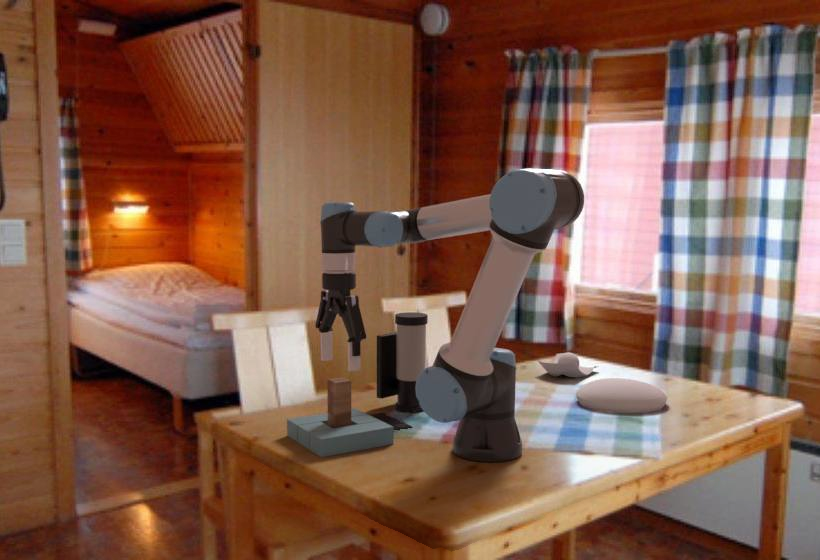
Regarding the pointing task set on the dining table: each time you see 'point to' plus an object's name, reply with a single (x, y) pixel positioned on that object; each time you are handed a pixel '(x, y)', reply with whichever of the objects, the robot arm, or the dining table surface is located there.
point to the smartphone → (391, 421)
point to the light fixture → (402, 360)
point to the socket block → (339, 433)
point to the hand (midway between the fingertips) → (340, 365)
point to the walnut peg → (339, 402)
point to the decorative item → (621, 396)
